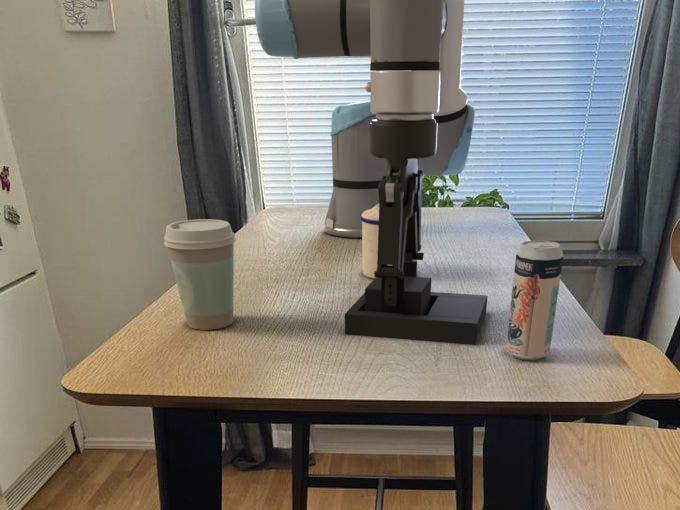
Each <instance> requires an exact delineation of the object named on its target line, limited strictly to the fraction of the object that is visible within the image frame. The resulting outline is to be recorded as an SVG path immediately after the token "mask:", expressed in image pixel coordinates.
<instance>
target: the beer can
mask: <svg viewBox="0 0 680 510" xmlns="http://www.w3.org/2000/svg"><path fill="white" fill-rule="evenodd" d="M563 263H564V252H563V249H562V245H561V243H558V242H556V241H552V240H551V241H550V240H538V239H536V240H527V241H524V242H522V243H521V244H520V247H519V248H518V249H517V251H516V255H515V262H514V272H513V280H512V282H513V283H512V289H511V290H512V291H511V300H510V308H509V316H508V317H509V318H508V326H507V337H506V343H505V344H506V345H505V350H506V352H507V353H508V354H509V355H510V356H512V357H513V358H514V359H515V358H516V359H518V360H523V361H536V360H541V359H543V358H545V357H547V356H548V355H549V354H550V351H551V345H552V337H553V332H554V325H555V324H554V323H555V317H556V311H557V304H558V297H559V289H560V283H561V275H562V270H563V269H562V268H563Z"/></svg>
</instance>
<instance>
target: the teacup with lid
mask: <svg viewBox="0 0 680 510" xmlns="http://www.w3.org/2000/svg"><path fill="white" fill-rule="evenodd" d="M361 220H362V238H361V239H362V241H361V244H362V245H361V247H362V250H361V255H362V260H361V261H362V268H361V269H362V270H361V271H362V274H363V275H364V276H365V277H367V278H368V279H369V278H370V279H372V280H374V279H375V278H376V277H375V276H374V271H377V259H378V230H379V204H377V205H376V206H375V207H373V208H372V209H369V210H366V211H364V212H363V213H362V215H361ZM414 261H416V262H417V263H418V260H414ZM391 266H393V265H391Z"/></svg>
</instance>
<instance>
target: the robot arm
mask: <svg viewBox="0 0 680 510" xmlns="http://www.w3.org/2000/svg"><path fill="white" fill-rule="evenodd" d="M464 14H465V0H254V19H255V28H256V33H257V38H258V41H259V44H260V46H261V48H262V50H263V51H264V53H265V54H267V55H268V56H270V57H276V58H293V59H294V60H298V59H307V58H340V57H345V58H346V57H347V58H349V57H350V58H352V57H353V58H357V57H358V58H359V57H360V58H362V57H363V58H365V57H369V58H370V64H369V71H370V77H369V79H370V81H367V82H366V83H365V85H364V88H365V91H366V92H367V93H370V95H369V96H370V97H369V100H367V101H366V100H365V101H359V102H354V103H348V104H342V105H338V106H337V107H335V108H334V109H333V111H332V114H331V128H330V129H331V131H330V137H331V163H332V164H331V165H332V166H331V167H332V168H331V169H332V193H331V197H330V199H329V200H330V201H329V204H328V207H327V212H326V215H325V220H324V231H325V233H327V234H329V235H331V236H335V237H341V238H352V239H353V238H355V239H362V220H361V215H362V213H363V212H364V211H366V210H369V209H372V208H373V207H375V206H376V205H377V204H379V230H378V259H377V271H374V276H375V277H380V278H381V312H384V313H398V314H404V300H405V277H404V276H409V277H418V261H423V260H424V255H425V253H424V252H421V250H422V244H421V243H422V195H423V194H422V192H423V191H422V190H423V177H424V176H435V177H440V178H441V177H443V176H457V175H459V174H461V173H462V172H463V171H464V170H465V167H466V164H467V160H468V156H469V151H470V147H471V141H472V133H473V127H474V123H475V114H476V108H475V107H474V106H472V105H469V104H468V103H469V101H468V100H469V99H468V98H469V97H468V94H467V93H466V92H465V90H464V89H462V87H461V76H462V75H461V74H462V57H463V56H462V54H463V35H464V34H463V33H464V17H465V16H464ZM414 260H417V262H416V261H414ZM391 265H393V266H391Z"/></svg>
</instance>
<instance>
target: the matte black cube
mask: <svg viewBox="0 0 680 510" xmlns="http://www.w3.org/2000/svg"><path fill="white" fill-rule="evenodd" d="M404 277H405V300H404V314H412V315H426V316H427V315H428V313H429V312H430V298H431V292H432V277H424V276H423V277H422V276H417V277H409V276H404ZM364 293H365V311H370V312H381V278H380V277H376V278H375V279H372V280H371V282H370V283H369V284H368V285H367V286H366V287H365V288H364Z"/></svg>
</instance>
